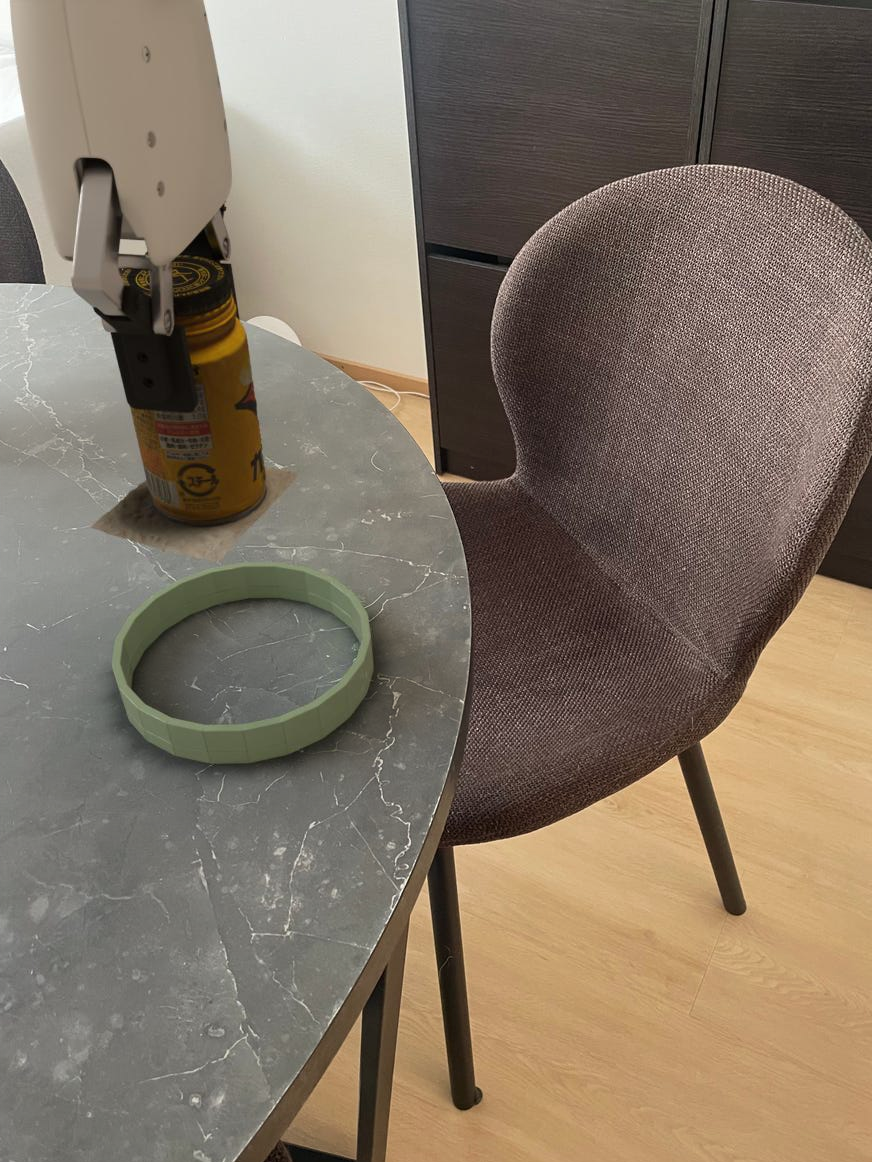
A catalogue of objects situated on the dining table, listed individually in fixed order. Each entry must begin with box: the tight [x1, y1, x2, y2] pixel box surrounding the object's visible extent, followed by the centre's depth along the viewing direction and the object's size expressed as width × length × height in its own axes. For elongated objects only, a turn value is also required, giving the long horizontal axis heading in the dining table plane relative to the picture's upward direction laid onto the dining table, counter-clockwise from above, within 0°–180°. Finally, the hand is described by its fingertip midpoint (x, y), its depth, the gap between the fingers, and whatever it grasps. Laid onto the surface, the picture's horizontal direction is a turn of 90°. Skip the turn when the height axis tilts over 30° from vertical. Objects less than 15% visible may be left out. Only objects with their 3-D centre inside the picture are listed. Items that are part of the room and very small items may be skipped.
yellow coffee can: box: [90, 255, 299, 564], centre depth 51 cm, size 7×8×12 cm
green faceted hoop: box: [111, 561, 375, 765], centre depth 63 cm, size 15×15×4 cm
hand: (188, 369), depth 50 cm, fingers closed on yellow coffee can, 6 cm apart
